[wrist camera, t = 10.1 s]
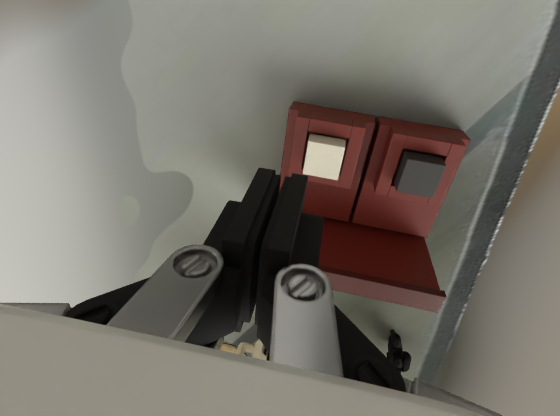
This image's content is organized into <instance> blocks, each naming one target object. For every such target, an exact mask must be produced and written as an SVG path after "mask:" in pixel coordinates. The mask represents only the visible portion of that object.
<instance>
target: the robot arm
mask: <svg viewBox="0 0 560 416" xmlns="http://www.w3.org/2000/svg"><path fill="white" fill-rule="evenodd" d="M275 174H276V173H275V170H271V169H265V168H259V169H258V170H257V172H256V174H255V176H254V178H253V180H252V182H251V184H250V186H249V188H248V190H247V192H246V194H245V196H244V198H243V200H242V202H237V201H231V200H230V201H228V202H227V204H226V206H225V207H224V209H223V211H222V213H221V214H220V216H219V218H218V220H217V221H216V223H215V225H214V227H213V228H212V230H211V232H210V234H209V235H208V237H207V239H206V241H205V242H204V244H203V245H190V246H185V247H183V248H181V249H178V250H177V251H175V252H174V253H173V254H172V255H171V256H170V257H169V258H168V259H167V260H166V261H165V262H164V263H163V264H162V265H161V266H160V268H159V269H158V270H157V271H156V272H155V273H154V274H153V275H152V276H151V277H149V278H147V279H144V280H141V281H138V282H136V283H133V284H130V285H127V286H125V287H122V288H119V289H116V290H114V291H111V292H108V293H105V294H102V295H99V296H97V297H94V298H91V299H88V300H86V301H84V302H82V303H80V304H77V305H76V306H75V307H73V308H71V307H70V305H69V303H0V416H502V415H500V414H498V413H496V412H493V411H491V410H489V409H486V408H484V407H482V406H480V405H477V404H475V403H473V402H470V401H468V400H465V399H463V398H461V397H459V396H456V395H454V394H451V393H449V392H447V391H445V390H442V389H440V388H438V387H435V386H433V385H431V384H428V383H426V382H424V381H421V380H419V379H417V378H415V379H414V381H413V382H412V381H410V380H408V379H405V378H403V377H402V375H401V374H400V372H399V371H398V370H397V368H396V367H395V366H394V365H393V364H392V363H391V362H390V361H389V360H388V359H387V358H386V357H385V356H384V354H383V353H382V352H381V351H380V350H379V349H378V348H377V347H376V346H375V345H374V344H373V343H372V342H371V341H370V340H369V339H368V338H367V337H366V336H365V335H364V334H363V333H362V332H361V331H360V330H359V329H358V328H357V327H356V326H355V325H354V324H353V323H352V322H351V321H350V320H349V319H348V318H347V317H346V316H345V315H344V314H343V313H342V312H341V311H340V310H339V309H338V308H337V307H336V306H335V305H334V300H333V292H332V285H331V282H330V279H329V278H328V277H327V275H326V274H325V273H324V272H322V271H321V270H320V269H318V265H319V256H320V248H321V240H322V232H323V224H324V217H322V216H317V215H311V214H305V213H303V208H304V201H305V195H306V188H307V182H308V176H307V175H301V174H295V173H292V175H291V177H287V176H285V178H284V181H283V184H282V187H281V190H280V181H281V175H275ZM279 191H280V193H279ZM255 304H256V311H255V324H257V325H258V328H257V337H258V338H259V339H260V341H261V342H262V344H263V345H264V346H265V348H266V349H267V354H266V360H262V359H258V358H253V357H249V356H244V355H240V354H235V353H231V352H226V351H221V350H220V348H221V346H222V344H223V341H224V336H226V335H228V334H230V333H232V332H234V331H236V332H240V331H241V328H242V325H243V322H247V323H250V320H251V317H252V314H253V311H254V307H255Z"/></svg>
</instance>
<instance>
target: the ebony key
mask: <svg viewBox="0 0 560 416" xmlns="http://www.w3.org/2000/svg"><path fill="white" fill-rule="evenodd" d="M445 168H446V165H445V163H444V161H443V159H442V157H440V156H434V155H428V154H423V153H417V152H412V151H406V150H405V151H404V153H403V156H402V159H401V162H400V165H399V168H398V171H397V174H396V177H395V180H394V184H395V188H396V191H397V192H402V193H407V194H412V195H417V196H423V197H428V198H433V196H434V194H435V191H436V189H437V187H438V184H439V182H440V180H441V177H442V175H443V172H444V170H445Z"/></svg>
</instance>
